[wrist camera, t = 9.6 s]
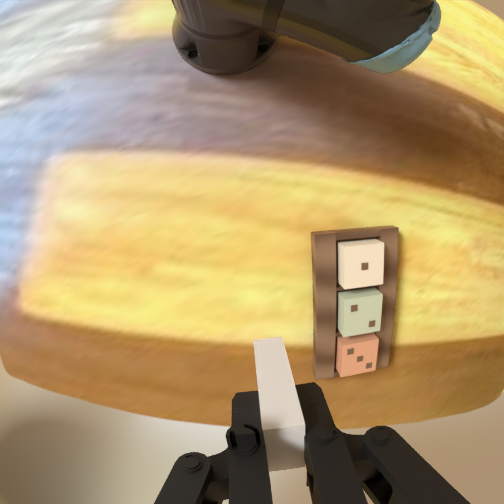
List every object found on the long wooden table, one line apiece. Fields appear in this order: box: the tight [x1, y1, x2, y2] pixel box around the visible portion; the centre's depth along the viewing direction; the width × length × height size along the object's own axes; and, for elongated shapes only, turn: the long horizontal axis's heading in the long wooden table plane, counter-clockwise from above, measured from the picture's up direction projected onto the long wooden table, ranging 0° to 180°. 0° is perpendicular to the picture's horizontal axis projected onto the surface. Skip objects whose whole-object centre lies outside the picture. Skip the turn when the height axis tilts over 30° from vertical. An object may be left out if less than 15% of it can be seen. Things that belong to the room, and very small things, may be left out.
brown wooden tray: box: [311, 226, 398, 380], centre depth 46 cm, size 24×13×2 cm, turn 5°
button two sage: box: [338, 287, 383, 337], centre depth 44 cm, size 6×6×3 cm
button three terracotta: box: [336, 332, 379, 377], centre depth 46 cm, size 6×6×3 cm
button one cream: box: [337, 239, 384, 289], centre depth 43 cm, size 6×6×3 cm
